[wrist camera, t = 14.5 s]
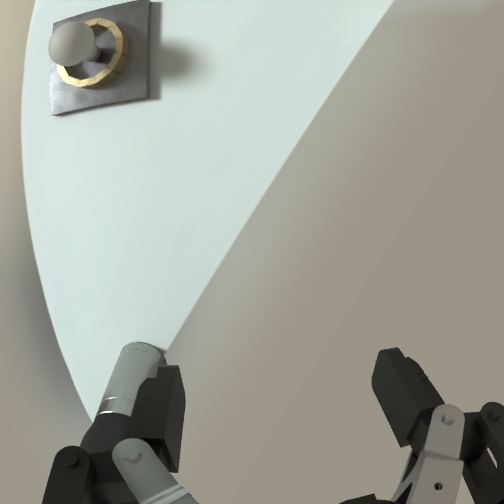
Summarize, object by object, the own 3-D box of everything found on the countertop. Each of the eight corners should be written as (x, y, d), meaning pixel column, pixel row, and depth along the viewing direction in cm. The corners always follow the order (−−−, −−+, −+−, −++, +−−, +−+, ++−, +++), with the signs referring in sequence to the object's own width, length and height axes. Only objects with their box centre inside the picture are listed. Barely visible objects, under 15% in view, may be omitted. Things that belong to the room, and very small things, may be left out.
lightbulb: (112, 31, 33) (81, 7, 23) (116, 66, 36) (84, 50, 25) (75, 44, 33) (38, 27, 23) (79, 80, 36) (40, 70, 25)
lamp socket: (149, 97, 39) (141, 94, 35) (54, 115, 38) (41, 115, 35) (151, 1, 33) (144, -8, 30) (58, 25, 32) (46, 19, 29)
